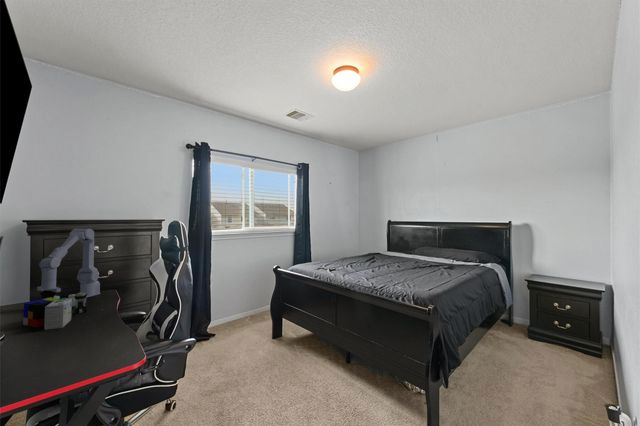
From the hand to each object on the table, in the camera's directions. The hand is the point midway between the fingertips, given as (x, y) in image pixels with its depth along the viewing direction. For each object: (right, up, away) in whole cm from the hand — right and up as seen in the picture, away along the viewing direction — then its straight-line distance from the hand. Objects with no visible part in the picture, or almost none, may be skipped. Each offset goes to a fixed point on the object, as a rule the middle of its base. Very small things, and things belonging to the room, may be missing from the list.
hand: (48, 304), depth 149 cm
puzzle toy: (+17, -2, -19) cm, 25 cm away
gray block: (-2, -1, +6) cm, 6 cm away
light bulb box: (+27, -2, -22) cm, 35 cm away
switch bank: (+1, -3, +5) cm, 6 cm away
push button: (+22, -3, -6) cm, 23 cm away
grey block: (+6, -1, +9) cm, 11 cm away
